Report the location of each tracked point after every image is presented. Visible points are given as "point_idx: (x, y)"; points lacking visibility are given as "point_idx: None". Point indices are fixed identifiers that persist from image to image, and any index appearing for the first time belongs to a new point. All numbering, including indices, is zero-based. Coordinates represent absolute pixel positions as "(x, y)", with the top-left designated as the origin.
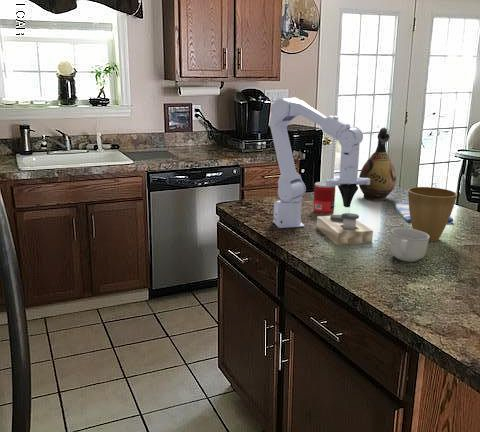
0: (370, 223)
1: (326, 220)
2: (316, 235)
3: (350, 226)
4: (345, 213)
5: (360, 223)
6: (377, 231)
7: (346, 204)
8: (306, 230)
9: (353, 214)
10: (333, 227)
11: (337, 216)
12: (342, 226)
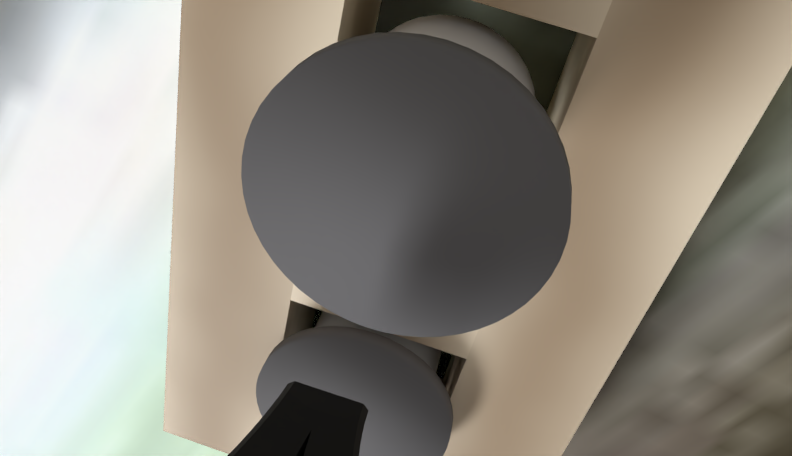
0: (6, 303)
1: (515, 434)
2: (705, 311)
3: (481, 47)
4: (397, 324)
5: (196, 170)
6: (27, 110)
7: (352, 446)
8: (667, 448)
9: (303, 221)
10: (663, 211)
11: None
12: None
